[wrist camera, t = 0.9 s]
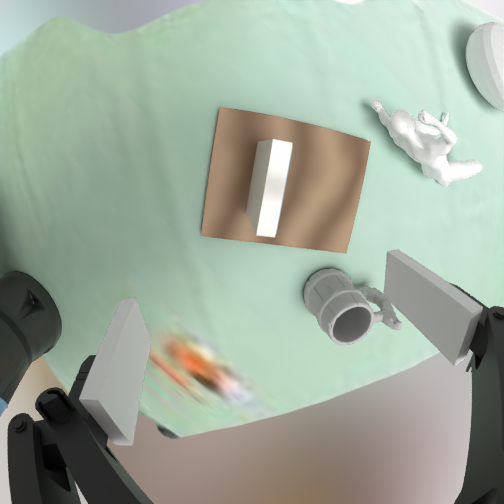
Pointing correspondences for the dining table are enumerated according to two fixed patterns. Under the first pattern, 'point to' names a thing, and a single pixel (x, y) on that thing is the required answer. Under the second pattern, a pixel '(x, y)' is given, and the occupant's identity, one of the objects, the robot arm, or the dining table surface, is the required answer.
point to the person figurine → (427, 144)
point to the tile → (268, 185)
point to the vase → (487, 62)
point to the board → (297, 185)
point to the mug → (345, 306)
